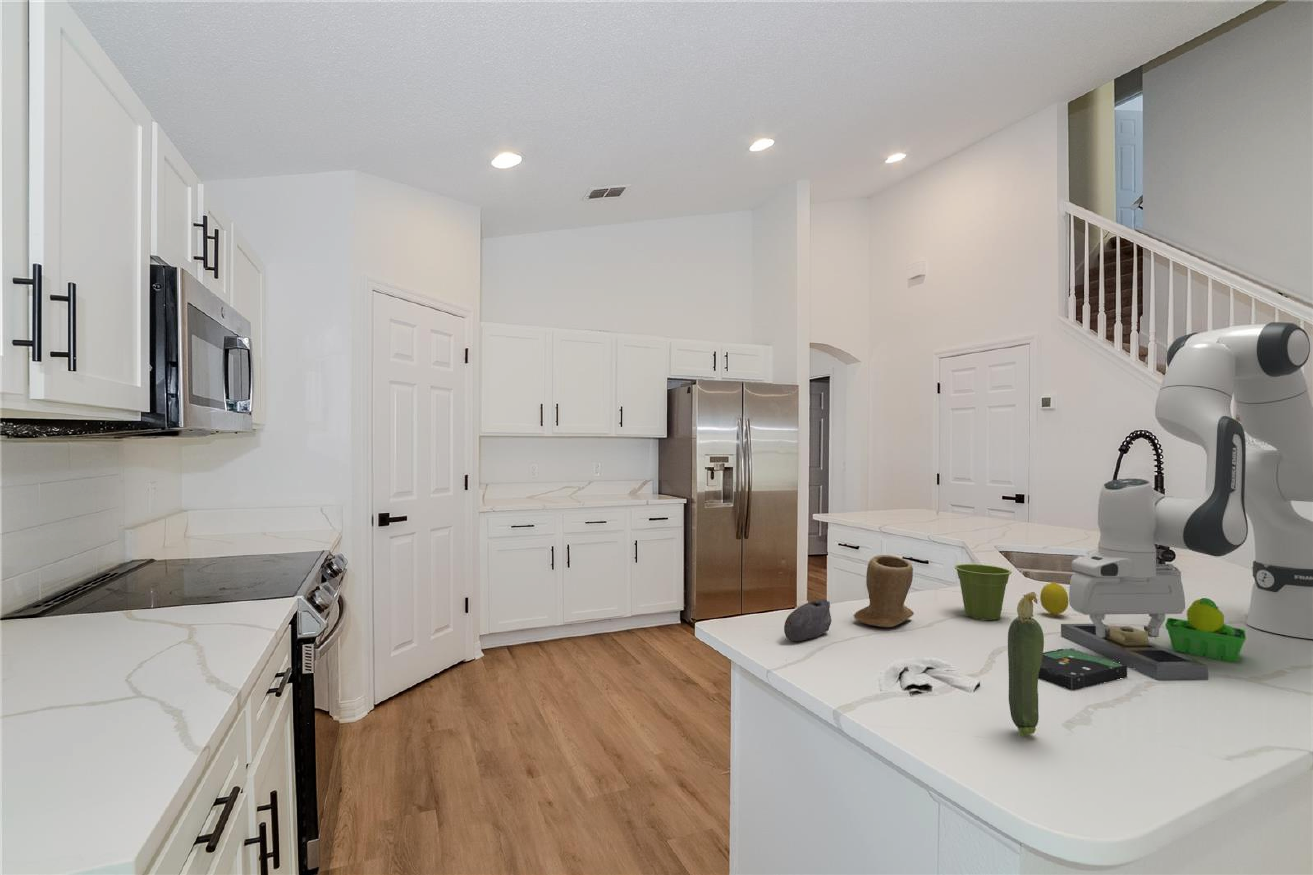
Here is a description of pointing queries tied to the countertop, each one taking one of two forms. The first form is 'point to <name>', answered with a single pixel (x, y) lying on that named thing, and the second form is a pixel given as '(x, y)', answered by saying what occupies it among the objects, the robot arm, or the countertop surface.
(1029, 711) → the vegetable
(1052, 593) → the lemon
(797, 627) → the perforated stone tool
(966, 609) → the plant pot
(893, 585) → the stone cup
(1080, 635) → the rail
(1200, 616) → the fruit basket
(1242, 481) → the robot arm
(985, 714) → the countertop surface
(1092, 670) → the disk drive
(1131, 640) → the nut
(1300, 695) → the countertop surface
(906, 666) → the cloth
